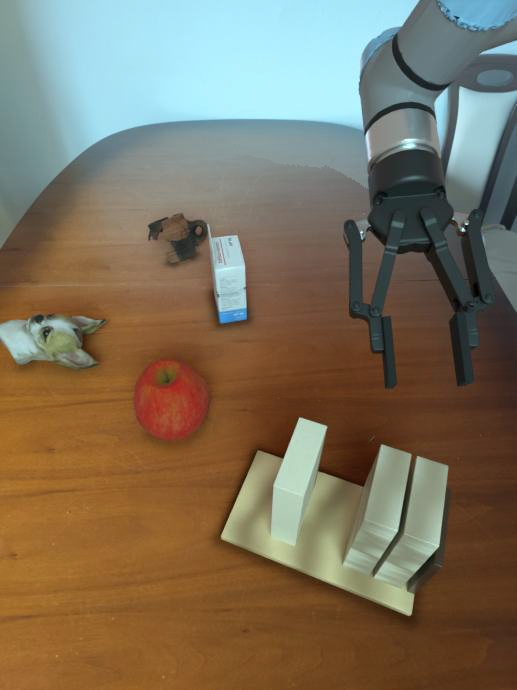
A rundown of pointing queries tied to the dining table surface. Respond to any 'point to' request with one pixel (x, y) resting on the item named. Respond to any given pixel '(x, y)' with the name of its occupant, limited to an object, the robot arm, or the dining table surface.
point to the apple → (171, 400)
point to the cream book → (296, 480)
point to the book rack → (355, 526)
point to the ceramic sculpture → (50, 339)
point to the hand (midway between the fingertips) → (427, 384)
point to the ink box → (228, 277)
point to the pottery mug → (179, 235)
